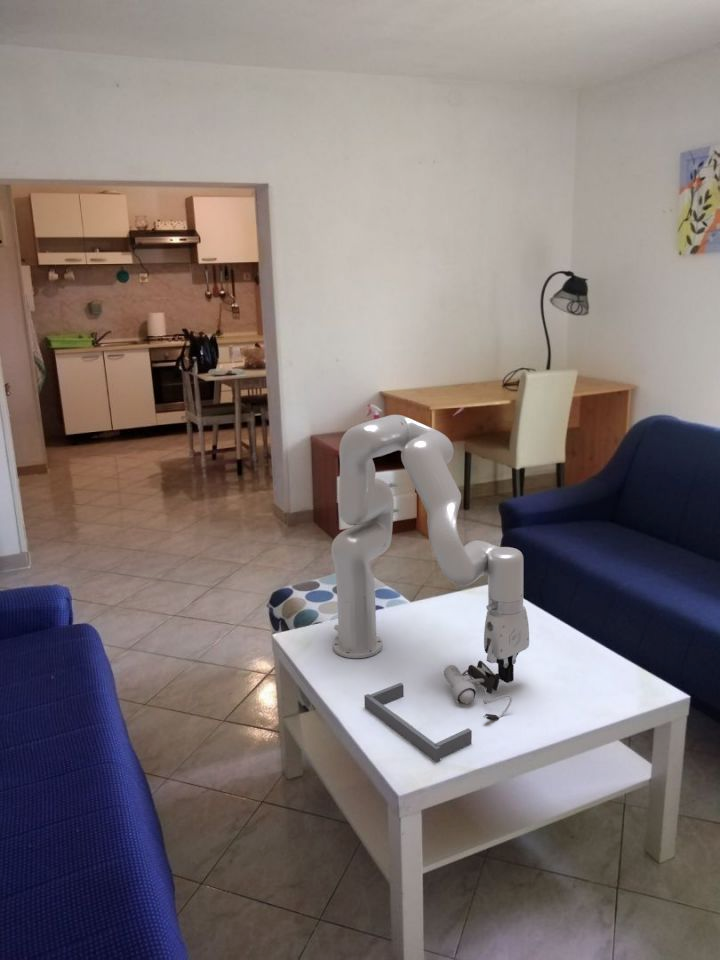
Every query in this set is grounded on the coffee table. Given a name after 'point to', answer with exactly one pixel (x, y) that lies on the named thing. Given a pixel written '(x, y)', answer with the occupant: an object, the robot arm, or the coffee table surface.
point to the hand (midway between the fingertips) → (505, 679)
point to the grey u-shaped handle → (407, 731)
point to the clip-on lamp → (466, 689)
